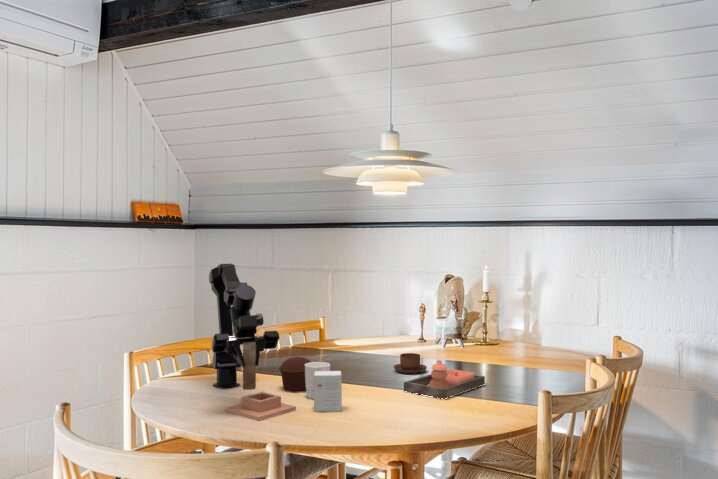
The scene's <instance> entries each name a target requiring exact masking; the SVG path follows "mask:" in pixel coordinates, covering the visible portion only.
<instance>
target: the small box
mask: <svg viewBox="0 0 718 479" xmlns="http://www.w3.org/2000/svg"><path fill="white" fill-rule="evenodd" d="M342 384H343V383H342V371H341V370H330V371H315V372H314V399H313V411H314V412H342V407H343V406H342V405H343V403H342V402H343V398H342V392H343V390H342V389H343V388H342V387H343V385H342Z"/></svg>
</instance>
